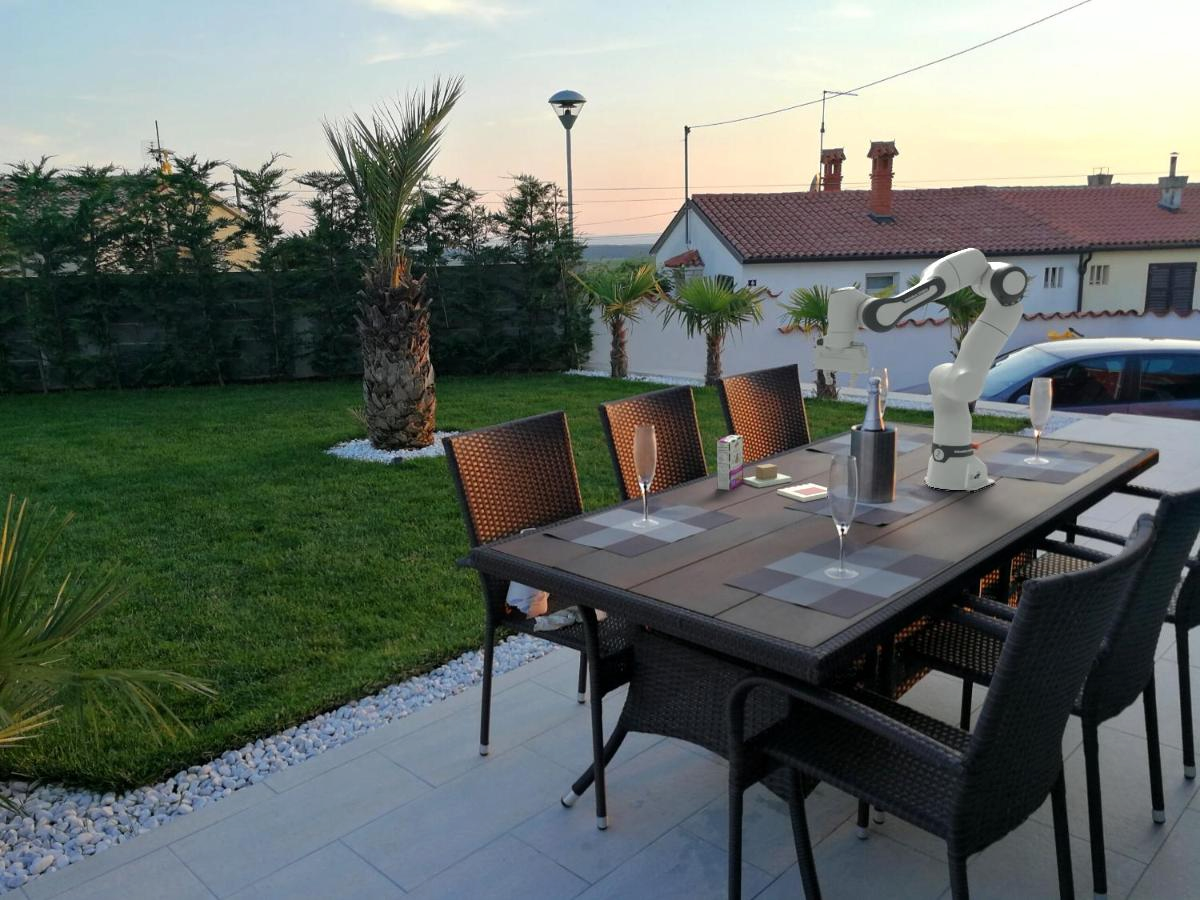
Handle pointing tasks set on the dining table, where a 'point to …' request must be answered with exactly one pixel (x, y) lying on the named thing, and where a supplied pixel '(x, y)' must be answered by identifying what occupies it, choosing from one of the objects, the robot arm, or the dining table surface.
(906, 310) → the robot arm
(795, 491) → the board
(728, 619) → the dining table surface
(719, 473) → the candy bar box
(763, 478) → the stub
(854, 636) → the dining table surface
